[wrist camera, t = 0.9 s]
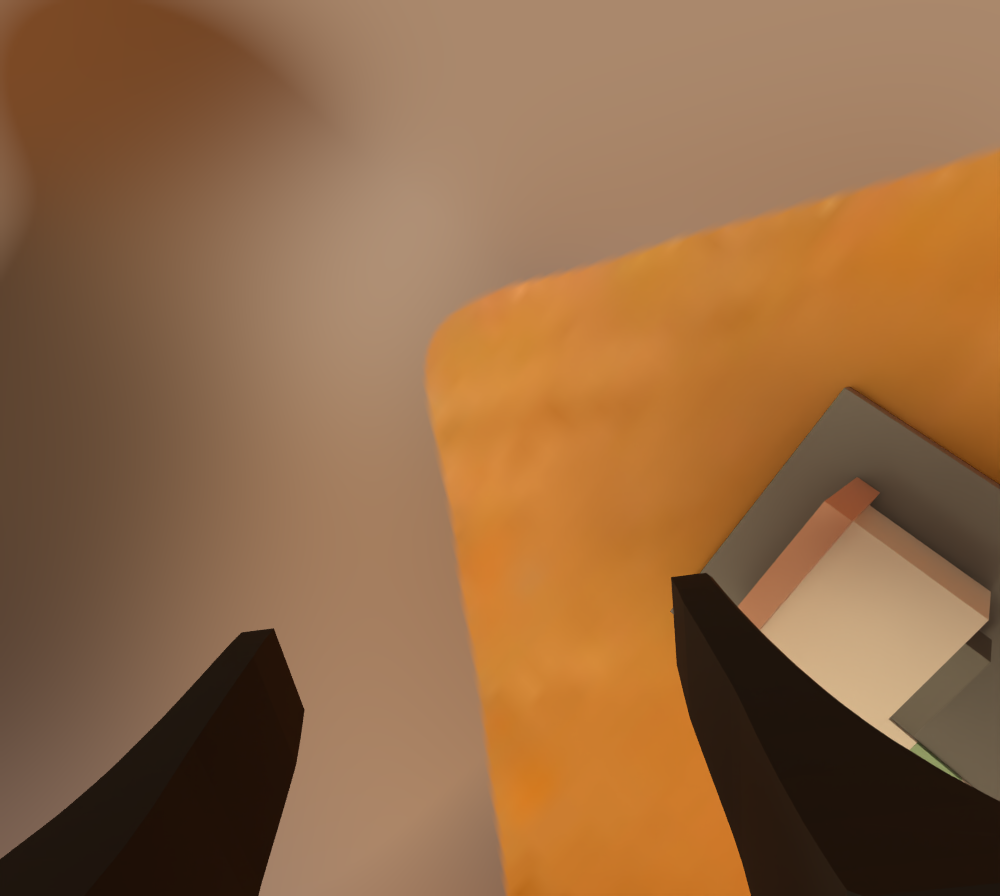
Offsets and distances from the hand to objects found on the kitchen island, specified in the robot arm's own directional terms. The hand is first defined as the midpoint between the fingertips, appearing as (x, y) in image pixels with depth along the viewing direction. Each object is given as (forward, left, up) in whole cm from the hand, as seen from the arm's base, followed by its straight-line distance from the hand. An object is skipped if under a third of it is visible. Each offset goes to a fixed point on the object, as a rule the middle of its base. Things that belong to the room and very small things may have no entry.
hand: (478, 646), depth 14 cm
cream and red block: (-5, 0, -15) cm, 16 cm away
